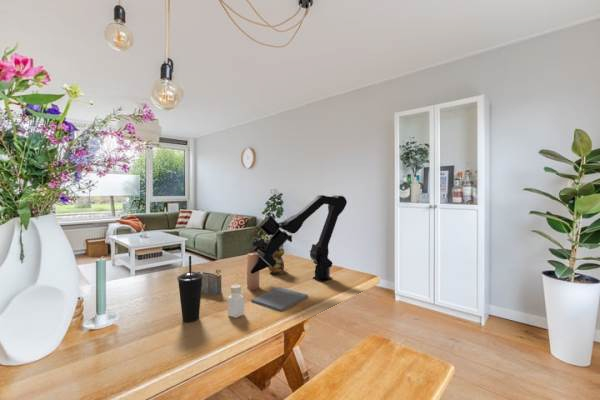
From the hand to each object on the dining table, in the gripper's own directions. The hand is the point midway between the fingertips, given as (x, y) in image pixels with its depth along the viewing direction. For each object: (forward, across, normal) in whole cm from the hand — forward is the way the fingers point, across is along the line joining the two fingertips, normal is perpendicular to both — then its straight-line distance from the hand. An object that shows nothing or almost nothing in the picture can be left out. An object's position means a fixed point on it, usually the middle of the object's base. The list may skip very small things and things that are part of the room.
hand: (249, 271), depth 117 cm
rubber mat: (-1, +16, +11) cm, 19 cm away
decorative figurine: (-6, -17, +17) cm, 25 cm away
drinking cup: (+21, +21, -11) cm, 32 cm away
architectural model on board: (+17, -2, -6) cm, 18 cm away
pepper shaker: (+12, +23, -2) cm, 26 cm away
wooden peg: (+4, 0, +6) cm, 7 cm away
